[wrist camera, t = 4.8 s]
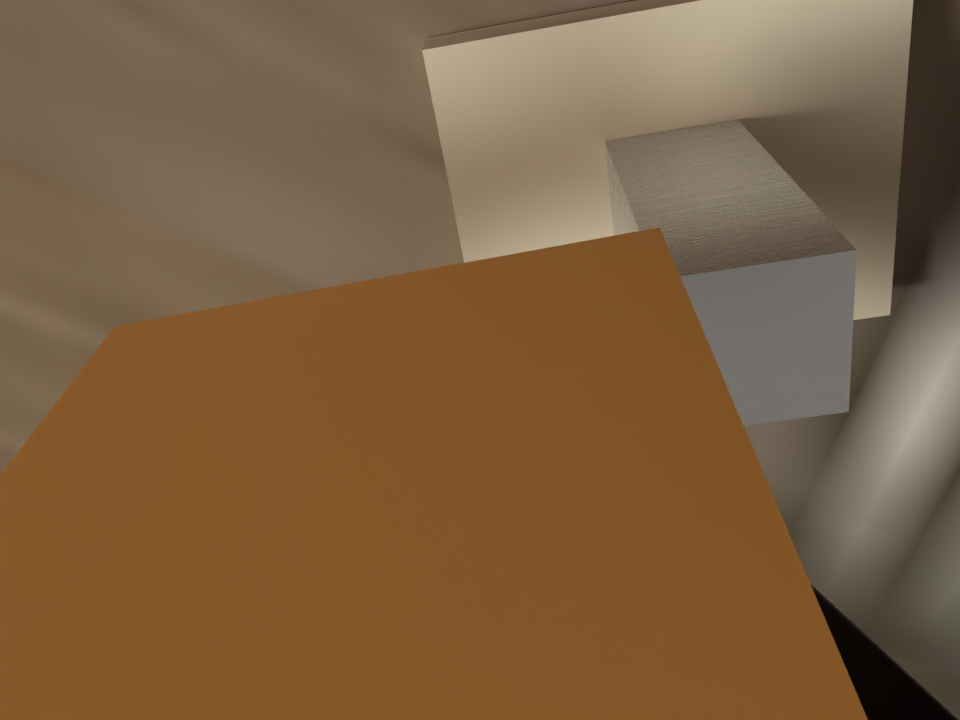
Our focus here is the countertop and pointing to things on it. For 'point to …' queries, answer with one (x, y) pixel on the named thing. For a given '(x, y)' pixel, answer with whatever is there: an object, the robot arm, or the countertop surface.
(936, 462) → the countertop surface
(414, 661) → the tan cardboard-colored cube
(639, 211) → the metal post
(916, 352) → the countertop surface
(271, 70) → the countertop surface
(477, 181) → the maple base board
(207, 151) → the countertop surface
